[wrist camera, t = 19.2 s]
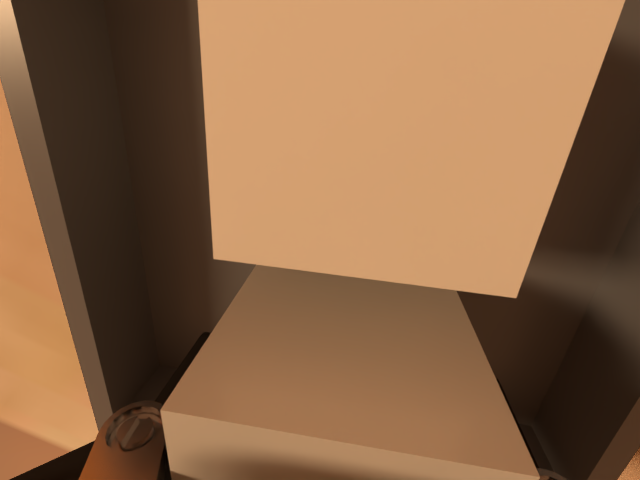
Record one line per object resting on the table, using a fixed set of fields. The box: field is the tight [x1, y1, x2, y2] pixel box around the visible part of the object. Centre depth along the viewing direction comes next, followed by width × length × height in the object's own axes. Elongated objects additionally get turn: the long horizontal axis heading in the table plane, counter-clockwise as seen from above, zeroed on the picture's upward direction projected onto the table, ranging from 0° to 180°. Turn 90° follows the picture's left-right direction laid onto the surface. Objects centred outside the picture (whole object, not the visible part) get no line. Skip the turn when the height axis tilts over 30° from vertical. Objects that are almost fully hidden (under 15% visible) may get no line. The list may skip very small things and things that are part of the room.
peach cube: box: [198, 0, 625, 298], centre depth 8 cm, size 6×6×6 cm
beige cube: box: [160, 265, 540, 480], centre depth 8 cm, size 6×6×6 cm
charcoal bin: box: [0, 0, 640, 480], centre depth 11 cm, size 18×18×4 cm
